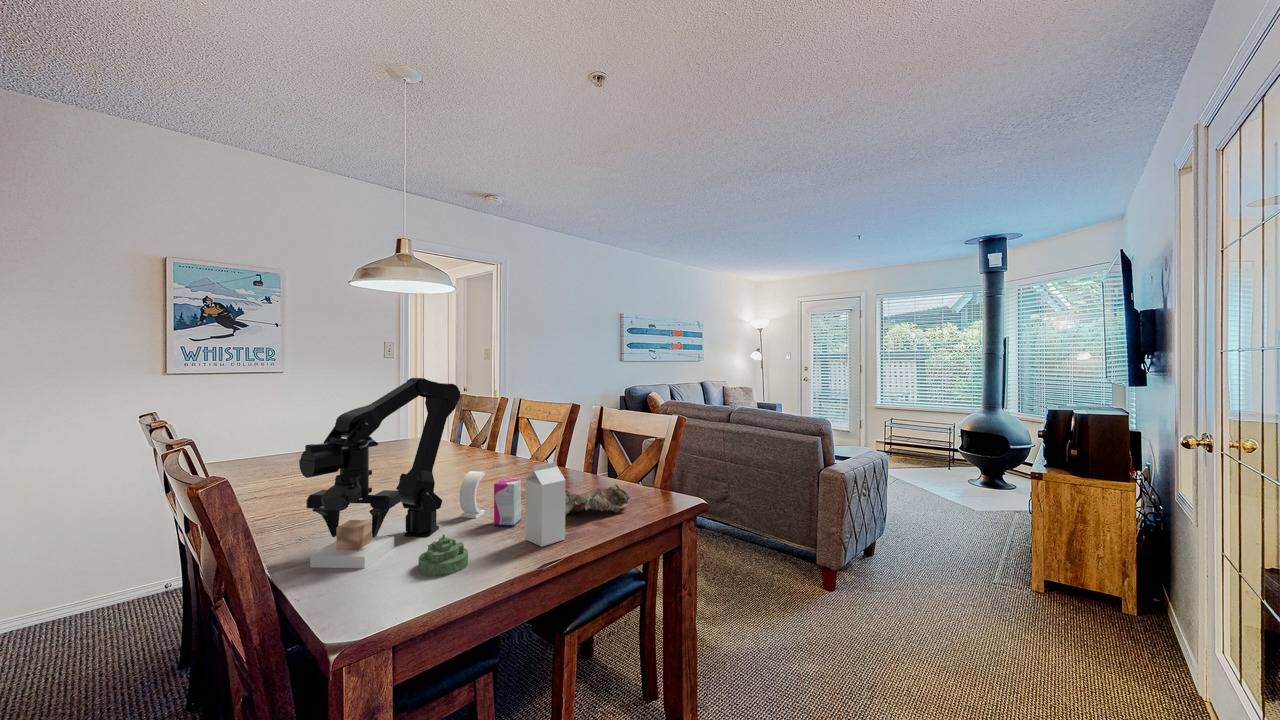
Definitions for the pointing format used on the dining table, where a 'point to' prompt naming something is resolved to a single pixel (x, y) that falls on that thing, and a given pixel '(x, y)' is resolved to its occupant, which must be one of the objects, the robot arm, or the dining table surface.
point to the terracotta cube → (353, 535)
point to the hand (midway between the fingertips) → (354, 536)
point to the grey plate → (352, 554)
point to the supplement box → (507, 503)
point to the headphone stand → (470, 495)
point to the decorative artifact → (443, 558)
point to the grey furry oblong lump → (597, 500)
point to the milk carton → (545, 505)
